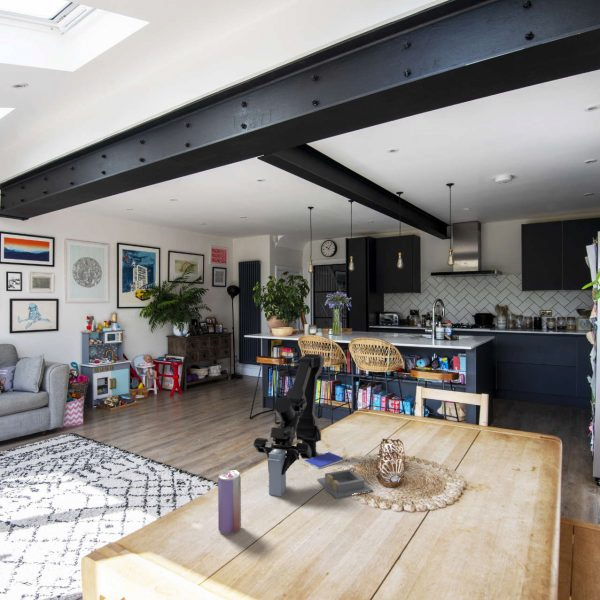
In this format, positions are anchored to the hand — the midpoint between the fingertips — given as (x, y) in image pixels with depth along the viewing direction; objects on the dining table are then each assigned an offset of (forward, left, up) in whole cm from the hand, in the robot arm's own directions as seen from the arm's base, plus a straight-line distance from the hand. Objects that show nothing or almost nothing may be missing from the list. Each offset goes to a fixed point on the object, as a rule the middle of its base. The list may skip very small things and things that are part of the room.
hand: (275, 473), depth 136 cm
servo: (-1, +1, -7) cm, 7 cm away
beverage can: (+19, -13, -7) cm, 24 cm away
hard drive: (-24, +19, -7) cm, 32 cm away
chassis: (-3, +23, -7) cm, 24 cm away
